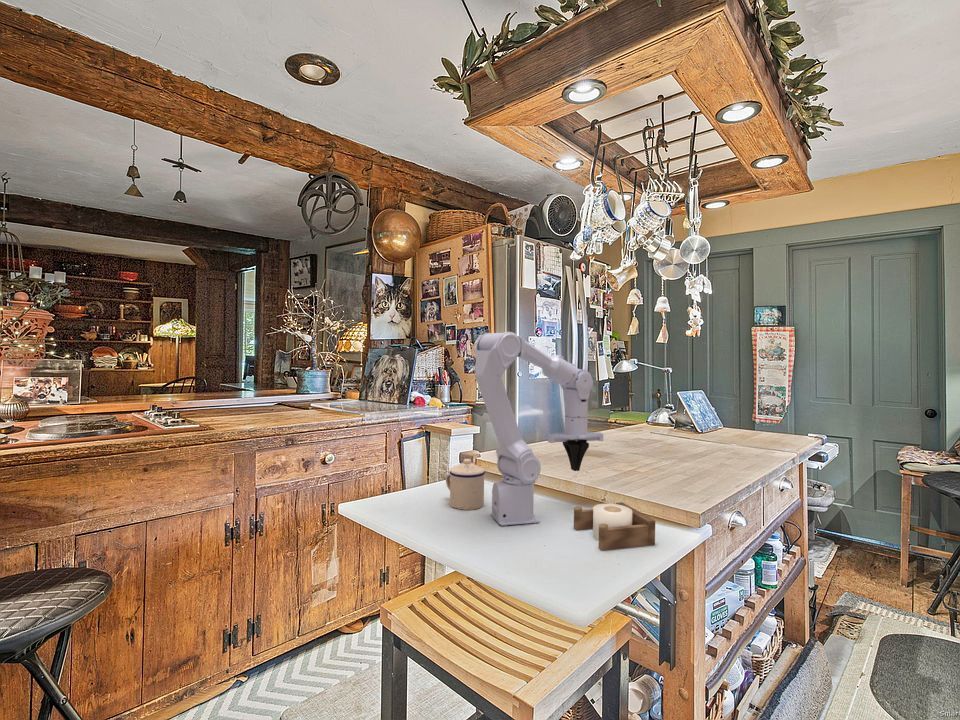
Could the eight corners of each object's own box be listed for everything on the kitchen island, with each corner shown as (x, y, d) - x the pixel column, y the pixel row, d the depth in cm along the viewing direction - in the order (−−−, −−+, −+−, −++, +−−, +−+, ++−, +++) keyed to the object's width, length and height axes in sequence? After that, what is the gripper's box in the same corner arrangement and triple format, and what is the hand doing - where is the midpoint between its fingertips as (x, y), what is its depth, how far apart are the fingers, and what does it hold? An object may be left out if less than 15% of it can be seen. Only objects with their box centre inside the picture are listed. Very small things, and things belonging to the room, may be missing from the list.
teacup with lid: (492, 504, 124) (492, 459, 124) (467, 513, 118) (468, 465, 117) (458, 495, 132) (459, 452, 132) (433, 502, 126) (434, 457, 125)
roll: (604, 546, 98) (605, 516, 98) (586, 532, 106) (586, 504, 106) (639, 543, 101) (640, 513, 100) (618, 529, 108) (619, 502, 108)
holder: (601, 551, 96) (601, 526, 96) (572, 528, 108) (572, 505, 108) (655, 545, 99) (656, 521, 99) (621, 523, 112) (621, 501, 112)
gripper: (555, 419, 117) (555, 475, 117) (609, 417, 121) (609, 472, 121) (544, 415, 124) (543, 468, 124) (596, 414, 128) (595, 465, 128)
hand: (575, 470), depth 123 cm, fingers closed
